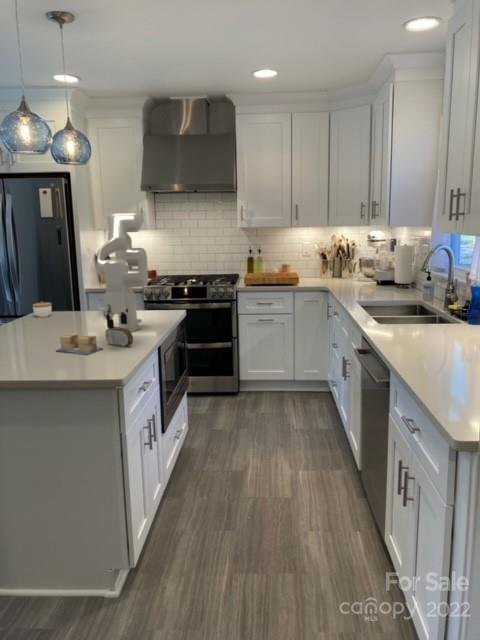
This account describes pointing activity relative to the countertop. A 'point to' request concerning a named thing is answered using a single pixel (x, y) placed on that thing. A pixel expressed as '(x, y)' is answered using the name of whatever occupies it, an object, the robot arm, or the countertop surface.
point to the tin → (119, 336)
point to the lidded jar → (42, 309)
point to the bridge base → (78, 344)
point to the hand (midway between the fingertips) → (117, 325)
